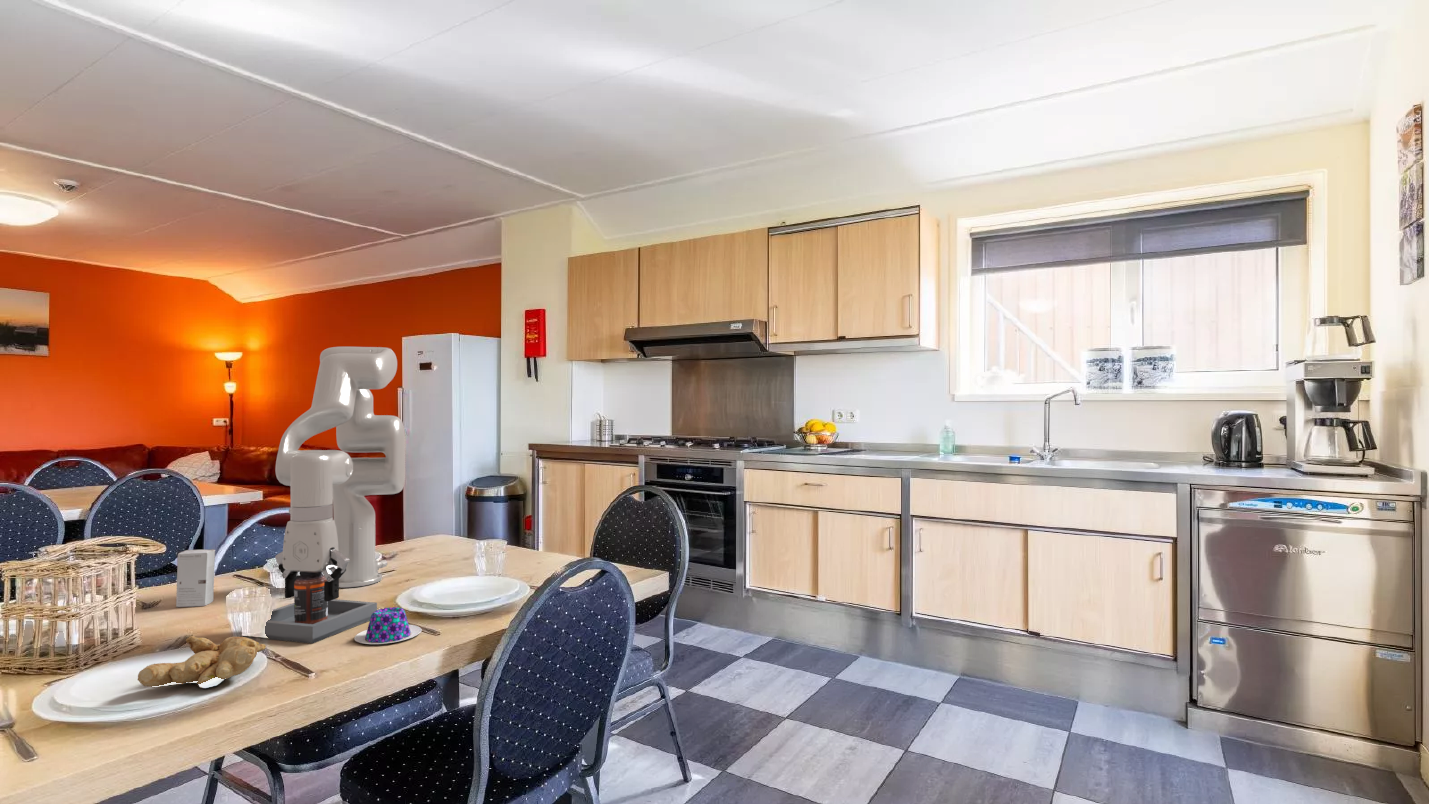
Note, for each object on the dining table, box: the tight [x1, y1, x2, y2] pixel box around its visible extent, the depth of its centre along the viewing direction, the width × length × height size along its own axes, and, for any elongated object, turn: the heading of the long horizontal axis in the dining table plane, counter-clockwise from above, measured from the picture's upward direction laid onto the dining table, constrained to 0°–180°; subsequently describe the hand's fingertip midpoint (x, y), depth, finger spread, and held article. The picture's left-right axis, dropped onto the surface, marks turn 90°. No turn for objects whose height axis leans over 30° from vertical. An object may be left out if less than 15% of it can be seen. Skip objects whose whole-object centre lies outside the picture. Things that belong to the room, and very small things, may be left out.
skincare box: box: [175, 549, 216, 608], centre depth 162 cm, size 6×4×12 cm
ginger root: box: [137, 635, 267, 688], centre depth 118 cm, size 16×16×8 cm
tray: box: [265, 598, 378, 644], centre depth 146 cm, size 17×17×3 cm
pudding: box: [353, 606, 422, 645], centre depth 140 cm, size 12×12×5 cm
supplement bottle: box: [293, 572, 328, 624], centre depth 146 cm, size 6×6×11 cm
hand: (311, 598), depth 146 cm, fingers open, 9 cm apart
